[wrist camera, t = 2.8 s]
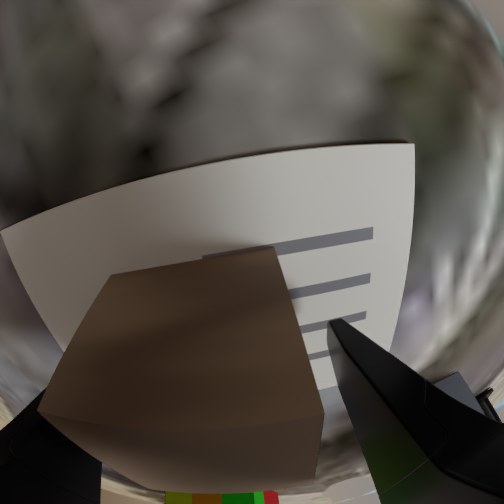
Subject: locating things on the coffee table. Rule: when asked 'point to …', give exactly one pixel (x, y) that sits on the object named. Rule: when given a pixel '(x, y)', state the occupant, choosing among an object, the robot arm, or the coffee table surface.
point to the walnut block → (193, 379)
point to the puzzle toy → (222, 498)
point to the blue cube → (459, 390)
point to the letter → (240, 236)
